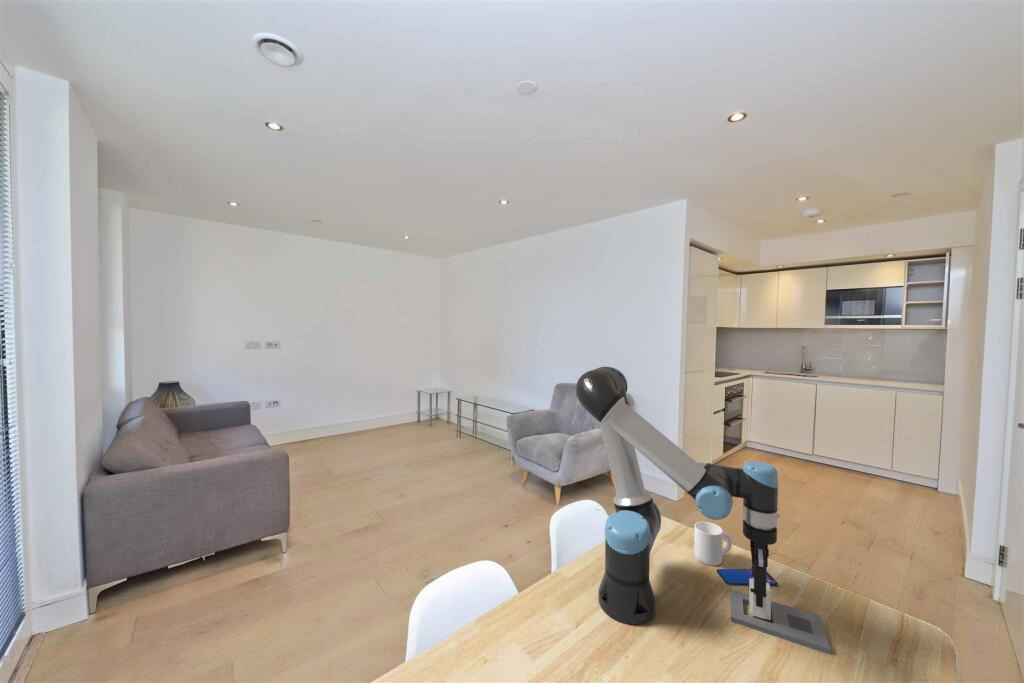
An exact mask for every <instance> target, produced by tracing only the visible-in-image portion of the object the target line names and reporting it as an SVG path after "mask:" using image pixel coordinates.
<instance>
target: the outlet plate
mask: <svg viewBox="0 0 1024 683" xmlns="http://www.w3.org/2000/svg"><path fill="white" fill-rule="evenodd" d="M730 590H731V591H730V592H731V593H730V597H731V598H730V601H731V602H730V620H731V621H730V622H731V623H732V622H733V623H735V624H737V625H740V626H744V627H747V628H750V629H752V630H756V631H758V632H762V633H765V634H768V635H769V636H770V635H771V636H773V637H777V638H779V639H783V640H786V641H789V642H792V643H795V644H797V645H801V646H804V647H807V648H810V649H814V650H816V651H819V652H822V653H824V654H828V655H831V646H830V643H829V641H828V636H827V634H826V630H825V627H824V624H823V621H822V617H821V615H819V614H818V613H817V614H816V613H814V612H810V611H806V610H803V609H800V608H796V607H792V606H789V605H786V604H783V603H779V602H776V601H772V600H771V621H772V622H770V621H768V620H767V621H766V620H765V619H764V620H763V619H762V618H759V617H755V616H752V615H747V614H744V604H746V605H749V593H745V592H742V591H738V590H736V589H732V588H731V589H730Z"/></svg>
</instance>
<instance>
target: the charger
mask: <svg viewBox="0 0 1024 683" xmlns="http://www.w3.org/2000/svg"><path fill="white" fill-rule="evenodd" d="M748 588H749V589H748V590H749V592H748V594H749V607H748V608H749V615H750V616H753V614H752V610H753V592H750V588H752V589H754V579H751V578H749V586H748ZM766 594H767V596H766V597H765V619H764V620H767V621H768V620H769V621H772V615H771V601H772V600H771V598H772V593H771V587H770V585H769V583H766Z"/></svg>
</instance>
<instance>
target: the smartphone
mask: <svg viewBox="0 0 1024 683" xmlns="http://www.w3.org/2000/svg"><path fill="white" fill-rule="evenodd" d="M716 573H717V574H718V575H719V577H721V579H722V581H723V582H724V583H725V584H726V585H728V586H739V587H740V586H744V587H747V586H748V587H749V578H751V579H752V578H754V577H752V569H751V568H749V569H748V568H740V569H739V568H717V569H716ZM766 583H769V585H770V588H771V587H772V588H773V587H776V588H777V587H779V586H778V585H779V584H778V583H779V582H777V581H776V580H775V578H774V577H772V575H771V574H770V573H769V572H768V571H767V570H766Z"/></svg>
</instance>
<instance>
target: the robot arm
mask: <svg viewBox="0 0 1024 683" xmlns="http://www.w3.org/2000/svg"><path fill="white" fill-rule="evenodd" d="M575 384H576V385H575V394H576V397H577V400H578V401H579V403H580V405H581V406H582V407H583V408H584V409H585V411H586V412H588V414H589V415H591V416H592V417H593V418H594V419H596V420H597V421H598V423H599V427H600V431H601V435H602V439H603V444H604V448H605V452H606V456H607V460H608V464H609V468H610V473H611V476H612V480H613V484H614V490H615V495H614V497H613V500H612V502H613V505H614V510H615V512H612V513H611V514H610V515H609V516H608V517H607V519H606V521H605V526H604V540H605V541H604V542H605V544H604V545H605V547H604V548H605V549H604V567H605V568H604V573H603V577H602V579H601V581H600V585H599V587H598V596H597V599H598V604H599V606H600V608H601V609H602V611H603V612H604V613H605V614H606V615H607V616H609V617H610V618H612V619H613V620H615V621H617V622H620V623H623V624H628V625H642V624H646V623H648V622H650V621H651V620H652V619H654V617H655V616H656V612H657V611H656V609H657V602H656V598H655V593H654V591H653V588H652V584H651V581H650V561H651V560H650V558H651V551H652V548H653V546H654V543H655V541H656V538H657V536H658V534H659V532H660V529H661V526H662V525H661V524H662V516H661V512H660V511H661V510H660V509H659V507H658V505H657V504H656V503H655V502H654V500H653V496H652V494H651V493H650V492H649V491H648V490H646V488H645V484H644V481H643V477H642V473H641V470H640V464H639V460H638V456H637V453H636V450H637V451H638V452H639V453H640V454H642V456H644V457H645V458H646V459H647V460H648V461H649V462H651V463H652V464H653V465H654V466H655V467H656V468H658V469H659V470H660V471H661V472H662V473H663V474H665V475H666V476H667V477H668V478H669V479H670V480H672V482H674V483H675V484H676V485H677V486H678V487H680V488H681V489H682V490H683V491H684V492H685V493H686V494H688V495H689V496H690V497H691V498H692V499H693V500H694V501H695V504H696V507H697V509H698V511H699V512H700V513H701V514H702V515H703V516H704V517H706V518H708V519H711V520H713V521H720V520H724V519H726V518H727V517H728V516H729V515H730V514H731V512H732V508H733V506H734V505H733V504H734V502H733V501H734V499H733V498H741V499H743V500H742V518H743V520H742V534H743V536H744V537H745V538H746V539H747V540H749V548H750V556H751V568H750V569H752V577H754V578H752V579H754V589H752V588H750V592H753V610H752V614H753V615H752V617H755V618H759V619H762V620H763V619H764V620H766V619H765V597H766V596H767V594H766V571H767V567H768V566H769V564H768V560H769V556H770V554H769V553H770V549H769V546H770V545H774V544H776V543H777V540H778V528H777V525H778V519H780V518H781V514H780V513H778V499H779V480H778V478H779V476H778V475H779V474H778V470H777V469H776V468H775V467H774V466H773V465H771V464H769V463H768V462H767V463H765V462H762V461H757V460H756V461H755V460H754V461H751V460H750V461H746V462H744V463H743V467H741V468H738V467H733V466H732V467H731V466H725V465H719V464H714V463H710V462H698V461H696V460H695V459H693V457H692V456H690V455H689V454H688V453H686V452H685V451H684V450H682V449H681V448H680V447H679V446H678V445H677V444H676V443H674V442H673V441H671V439H670V438H668V437H667V436H666V435H664V433H662V432H661V431H659V430H658V428H656V427H654V426H653V425H652V424H651V423H650V422H649V421H648V420H646V418H644V417H642V415H640V414H639V413H638V412H636V411H635V410H634V409H633V408H632V407H630V404H629V401H628V397H627V392H628V380H627V378H626V376H625V375H624V373H623V372H622V371H620V369H618V368H616V367H613V366H600V367H597V368H594V369H591V370H588V371H586V372H584V373H583V374H581V375H580V377H579V378H578V380H577V382H576V383H575Z"/></svg>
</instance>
